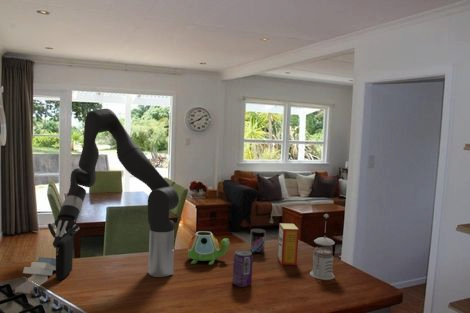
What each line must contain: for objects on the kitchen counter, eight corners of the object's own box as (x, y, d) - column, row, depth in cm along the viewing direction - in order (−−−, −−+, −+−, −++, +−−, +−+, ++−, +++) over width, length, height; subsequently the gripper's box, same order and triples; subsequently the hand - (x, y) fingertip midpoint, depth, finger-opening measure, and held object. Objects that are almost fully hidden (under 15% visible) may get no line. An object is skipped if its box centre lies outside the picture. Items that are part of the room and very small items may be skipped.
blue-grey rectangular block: (51, 260, 148) (38, 257, 137) (64, 261, 148) (52, 257, 137) (50, 265, 147) (37, 262, 136) (63, 266, 148) (51, 263, 136)
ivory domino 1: (45, 264, 143) (31, 261, 132) (58, 265, 144) (46, 262, 132) (44, 270, 143) (30, 267, 131) (57, 270, 143) (44, 268, 132)
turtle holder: (231, 265, 158) (232, 237, 157) (188, 265, 155) (189, 237, 154) (226, 254, 170) (228, 229, 169) (186, 255, 167) (187, 229, 166)
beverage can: (253, 282, 142) (255, 251, 141) (248, 289, 135) (249, 256, 134) (235, 278, 144) (237, 248, 143) (229, 285, 137) (231, 253, 136)
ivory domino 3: (33, 274, 135) (13, 288, 123) (47, 275, 135) (28, 289, 123) (33, 279, 135) (13, 294, 123) (47, 280, 135) (28, 295, 123)
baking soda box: (277, 257, 170) (279, 222, 169) (291, 257, 171) (293, 222, 170) (281, 264, 161) (283, 228, 160) (296, 265, 161) (298, 228, 160)
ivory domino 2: (39, 269, 138) (24, 266, 127) (53, 269, 139) (39, 267, 127) (38, 274, 138) (22, 272, 127) (51, 275, 138) (38, 273, 127)
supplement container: (246, 252, 174) (248, 230, 174) (255, 249, 180) (256, 227, 179) (259, 256, 170) (260, 233, 170) (267, 252, 176) (268, 230, 175)
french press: (339, 275, 152) (343, 214, 150) (324, 283, 144) (329, 218, 142) (317, 268, 159) (321, 210, 157) (302, 275, 150) (306, 213, 148)
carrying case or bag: (61, 283, 132) (61, 242, 131) (52, 283, 132) (52, 242, 131) (73, 271, 143) (74, 233, 142) (65, 271, 143) (66, 233, 142)
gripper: (52, 203, 155) (35, 241, 143) (83, 205, 154) (69, 243, 143) (58, 213, 160) (42, 250, 149) (89, 214, 160) (75, 252, 149)
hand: (56, 247), depth 146 cm, fingers closed
